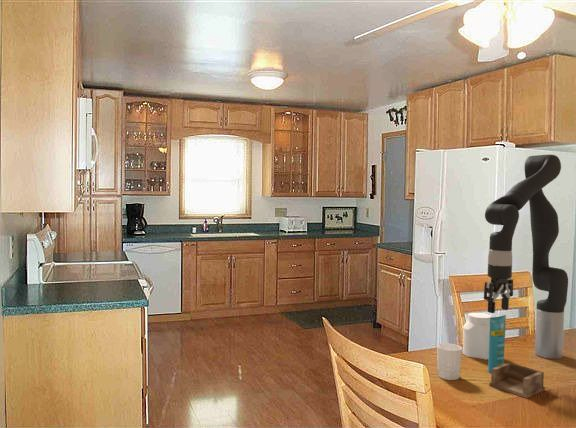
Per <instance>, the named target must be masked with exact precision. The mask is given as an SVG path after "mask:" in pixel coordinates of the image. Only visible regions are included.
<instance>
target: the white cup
mask: <svg viewBox="0 0 576 428" xmlns="http://www.w3.org/2000/svg"><path fill="white" fill-rule="evenodd" d="M436 351H437V352H436V356H437V358H436V359H437V360H436V363H437V374H438V377H439V378H441V379H443V380H447V381H457V380H460V378H461V377H460V376H461V375H460V374H461V367H462V356H463V346H461V345H458V344H454V343H447V342H446V343H445V342H444V343H443V342H442V343H438V344H437V345H436Z"/></svg>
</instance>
